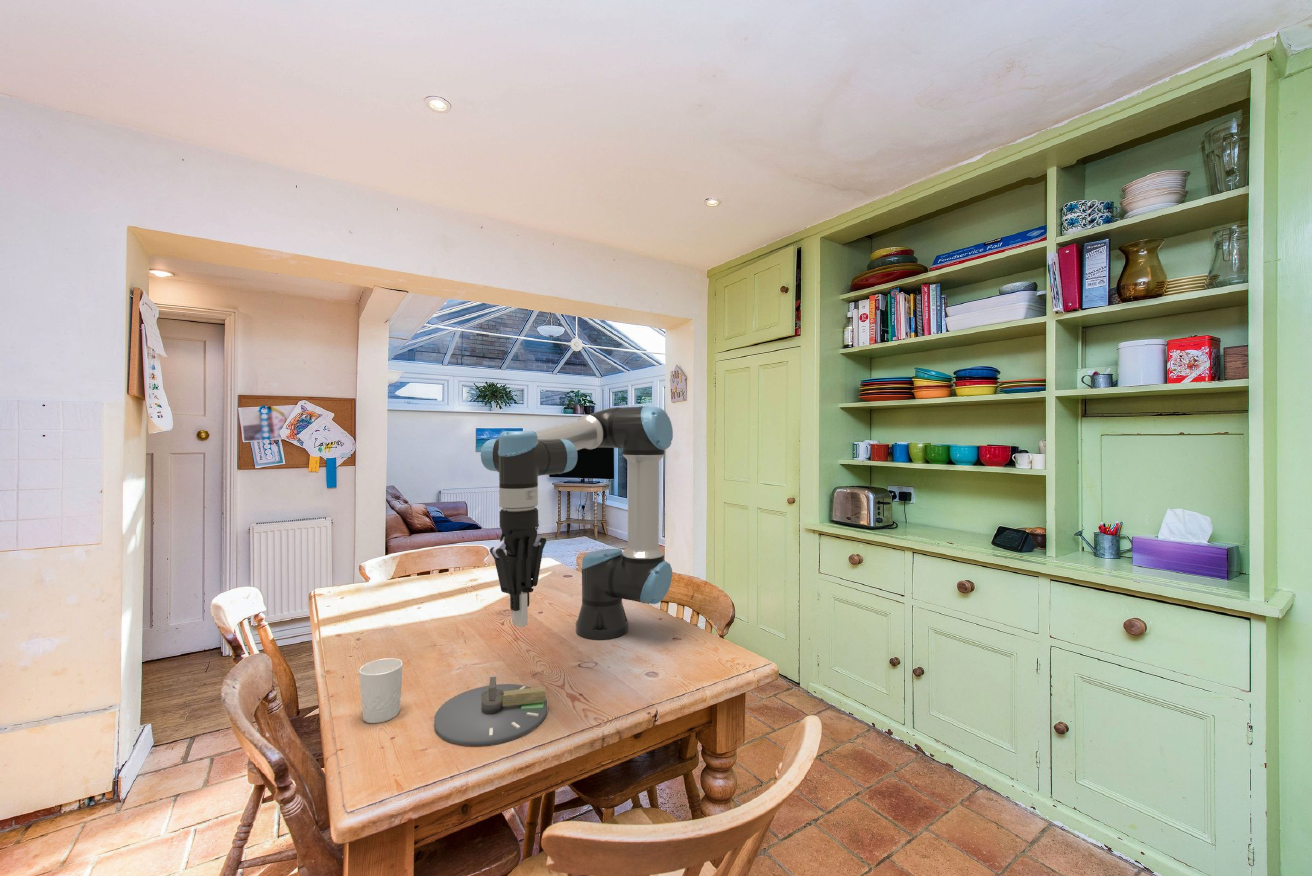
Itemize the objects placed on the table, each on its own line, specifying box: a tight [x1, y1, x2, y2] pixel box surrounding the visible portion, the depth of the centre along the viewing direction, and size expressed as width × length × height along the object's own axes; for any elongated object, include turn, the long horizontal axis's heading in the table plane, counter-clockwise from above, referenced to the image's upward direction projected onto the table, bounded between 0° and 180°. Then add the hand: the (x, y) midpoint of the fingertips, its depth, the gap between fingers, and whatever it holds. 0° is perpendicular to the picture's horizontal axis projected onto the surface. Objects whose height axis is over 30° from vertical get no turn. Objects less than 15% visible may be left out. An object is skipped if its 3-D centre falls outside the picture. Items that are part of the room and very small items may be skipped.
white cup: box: [358, 657, 403, 724], centre depth 110 cm, size 8×8×10 cm
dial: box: [433, 683, 548, 747], centre depth 110 cm, size 22×22×2 cm
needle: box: [481, 676, 546, 713], centre depth 111 cm, size 13×5×5 cm, turn 104°
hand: (520, 624), depth 109 cm, fingers closed
